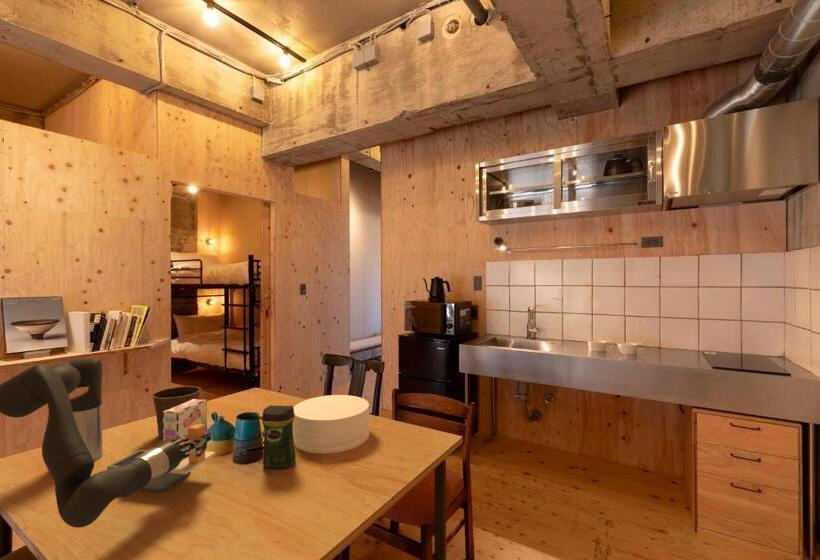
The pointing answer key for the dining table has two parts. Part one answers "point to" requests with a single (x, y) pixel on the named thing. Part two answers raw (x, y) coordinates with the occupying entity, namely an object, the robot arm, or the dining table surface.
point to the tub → (157, 485)
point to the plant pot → (172, 401)
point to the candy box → (184, 418)
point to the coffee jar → (278, 436)
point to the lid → (192, 460)
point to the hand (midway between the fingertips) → (203, 435)
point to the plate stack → (331, 423)
